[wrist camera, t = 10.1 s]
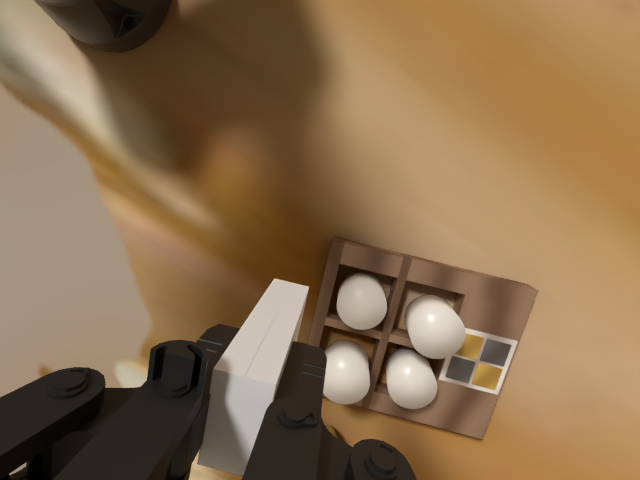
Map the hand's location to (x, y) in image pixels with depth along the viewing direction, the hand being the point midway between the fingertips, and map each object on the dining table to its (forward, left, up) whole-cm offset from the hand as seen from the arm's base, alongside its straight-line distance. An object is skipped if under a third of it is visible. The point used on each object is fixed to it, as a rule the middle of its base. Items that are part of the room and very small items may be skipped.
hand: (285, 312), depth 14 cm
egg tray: (+13, -11, -28) cm, 33 cm away
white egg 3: (+14, -7, -25) cm, 29 cm away
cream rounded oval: (+14, -15, -28) cm, 34 cm away
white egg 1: (+6, -7, -28) cm, 29 cm away
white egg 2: (+6, -15, -25) cm, 30 cm away
